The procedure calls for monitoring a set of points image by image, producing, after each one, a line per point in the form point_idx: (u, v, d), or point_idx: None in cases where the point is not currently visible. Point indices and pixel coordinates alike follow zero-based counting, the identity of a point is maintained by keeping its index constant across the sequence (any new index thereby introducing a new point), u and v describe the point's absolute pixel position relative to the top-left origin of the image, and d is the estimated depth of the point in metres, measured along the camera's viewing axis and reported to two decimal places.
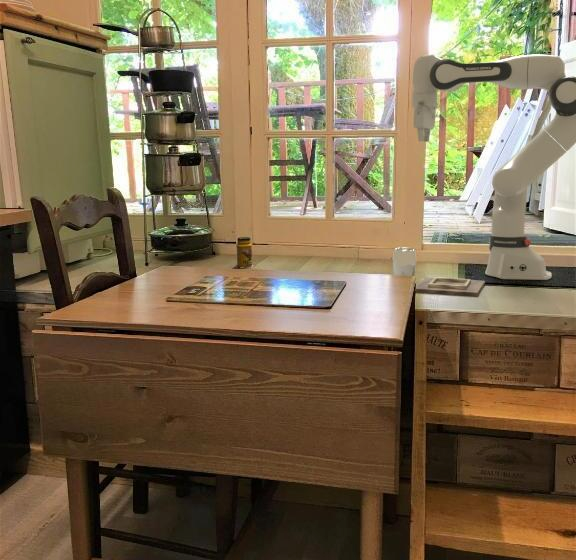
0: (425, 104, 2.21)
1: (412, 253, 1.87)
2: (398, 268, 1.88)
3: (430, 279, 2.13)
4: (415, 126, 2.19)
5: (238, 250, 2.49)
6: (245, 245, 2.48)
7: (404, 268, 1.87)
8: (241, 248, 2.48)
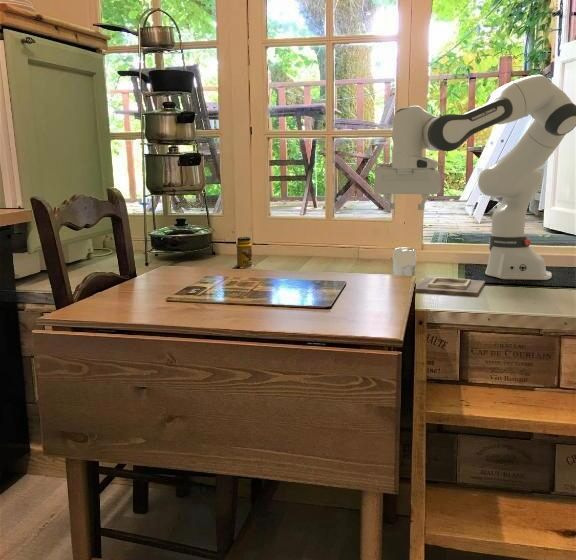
0: (391, 166, 1.86)
1: (412, 253, 1.87)
2: (398, 268, 1.88)
3: (430, 279, 2.13)
4: None
5: (238, 250, 2.49)
6: (245, 245, 2.48)
7: (404, 268, 1.87)
8: (241, 248, 2.48)
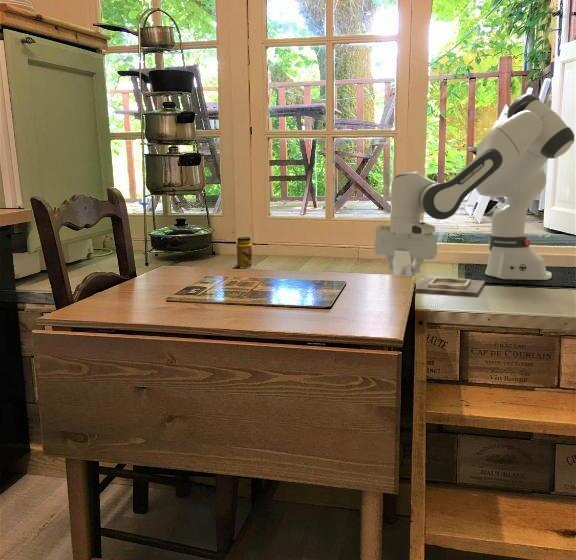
0: None
1: None
2: (398, 268, 1.88)
3: (430, 279, 2.13)
4: None
5: (238, 250, 2.49)
6: (245, 245, 2.48)
7: (404, 268, 1.87)
8: (241, 248, 2.48)
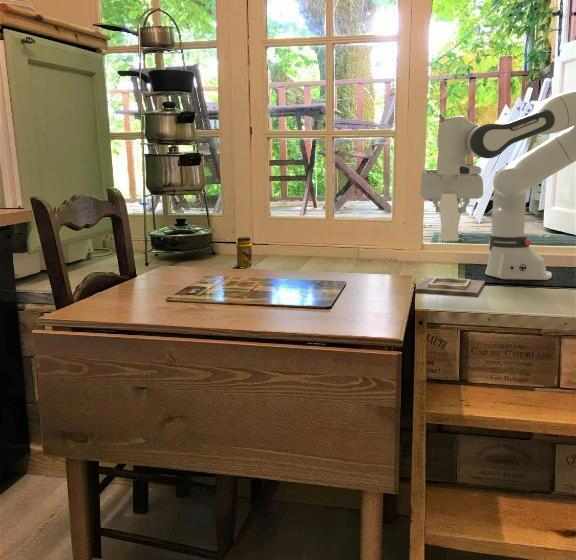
0: (437, 172, 1.99)
1: None
2: (445, 211, 1.97)
3: (430, 279, 2.13)
4: None
5: (238, 250, 2.49)
6: (245, 245, 2.48)
7: (451, 210, 1.96)
8: (241, 248, 2.48)
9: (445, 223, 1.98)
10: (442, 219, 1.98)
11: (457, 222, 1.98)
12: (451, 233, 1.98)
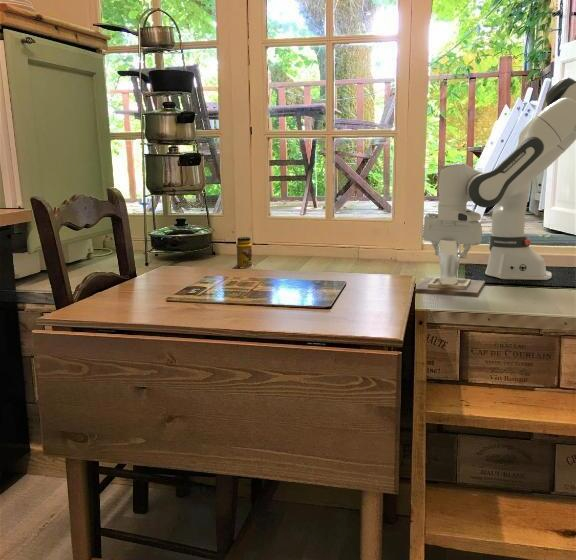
0: None
1: None
2: (443, 257, 1.99)
3: (430, 279, 2.13)
4: None
5: (238, 250, 2.49)
6: (245, 245, 2.48)
7: (449, 257, 1.98)
8: (241, 248, 2.48)
9: (444, 269, 2.01)
10: (441, 265, 2.01)
11: (456, 268, 2.00)
12: (449, 279, 2.00)
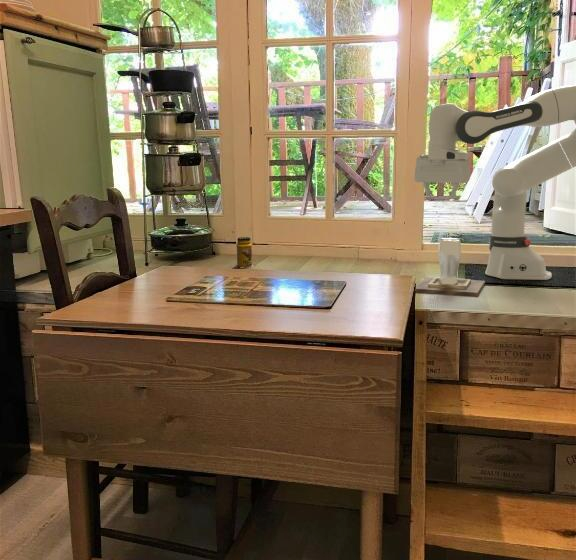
0: None
1: (457, 243, 1.98)
2: (443, 257, 1.99)
3: (430, 279, 2.13)
4: None
5: (238, 250, 2.49)
6: (245, 245, 2.48)
7: (449, 257, 1.98)
8: (241, 248, 2.48)
9: (444, 269, 2.01)
10: (441, 265, 2.01)
11: (456, 268, 2.00)
12: (449, 279, 2.00)
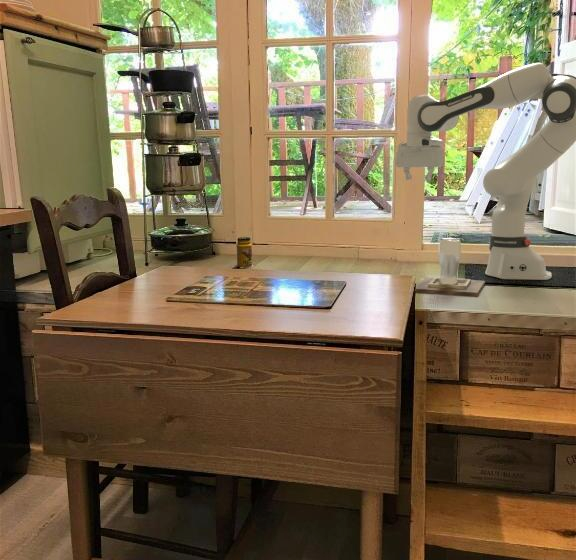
0: None
1: (457, 243, 1.98)
2: (443, 257, 1.99)
3: (430, 279, 2.13)
4: None
5: (238, 250, 2.49)
6: (245, 245, 2.48)
7: (449, 257, 1.98)
8: (241, 248, 2.48)
9: (444, 269, 2.01)
10: (441, 265, 2.01)
11: (456, 268, 2.00)
12: (449, 279, 2.00)
